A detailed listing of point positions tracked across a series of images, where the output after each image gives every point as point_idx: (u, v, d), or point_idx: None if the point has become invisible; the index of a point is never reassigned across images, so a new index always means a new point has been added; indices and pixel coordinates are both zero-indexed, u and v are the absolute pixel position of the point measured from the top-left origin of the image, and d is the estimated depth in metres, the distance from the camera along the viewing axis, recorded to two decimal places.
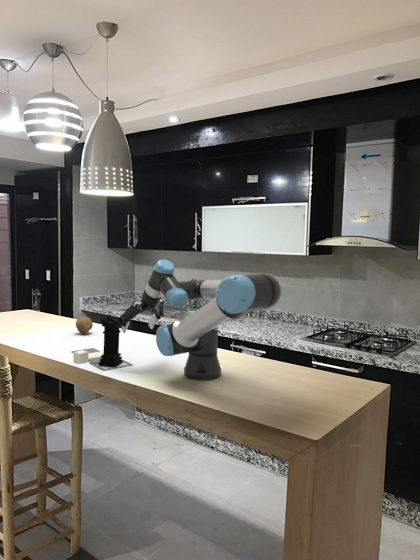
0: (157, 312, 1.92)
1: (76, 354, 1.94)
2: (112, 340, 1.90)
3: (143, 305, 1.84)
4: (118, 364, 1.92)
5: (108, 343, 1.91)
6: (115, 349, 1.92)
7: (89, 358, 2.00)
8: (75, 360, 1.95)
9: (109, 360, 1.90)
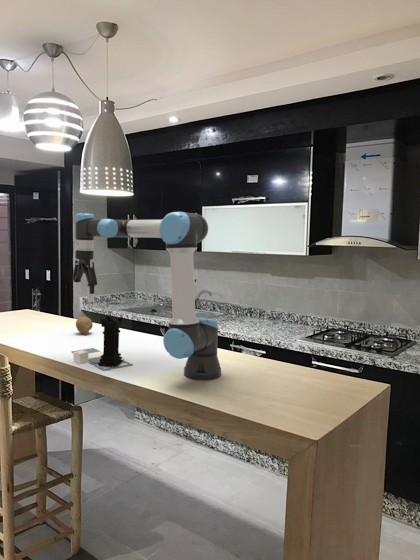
0: None
1: (76, 354, 1.94)
2: (112, 340, 1.90)
3: None
4: (118, 364, 1.92)
5: (108, 343, 1.91)
6: (115, 349, 1.92)
7: (89, 358, 2.00)
8: (75, 360, 1.95)
9: (109, 360, 1.90)
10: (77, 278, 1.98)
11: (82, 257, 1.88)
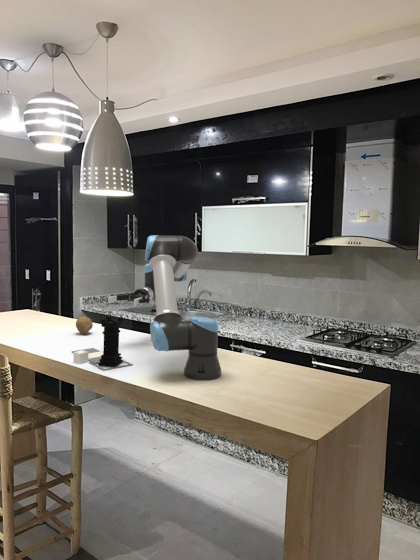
0: (143, 296, 2.16)
1: (76, 354, 1.94)
2: (112, 340, 1.90)
3: None
4: (118, 364, 1.92)
5: (108, 343, 1.91)
6: (115, 349, 1.92)
7: (89, 358, 2.00)
8: (75, 360, 1.95)
9: (109, 360, 1.90)
10: None
11: None
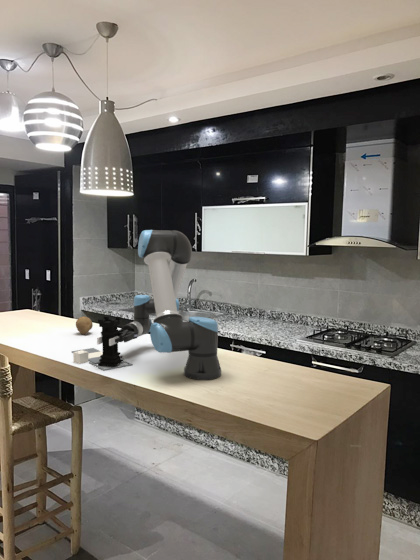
0: (124, 334, 1.97)
1: (76, 354, 1.94)
2: None
3: None
4: (118, 363, 1.92)
5: (107, 343, 1.90)
6: (114, 348, 1.92)
7: (89, 358, 2.00)
8: (75, 360, 1.95)
9: (109, 360, 1.90)
10: None
11: None
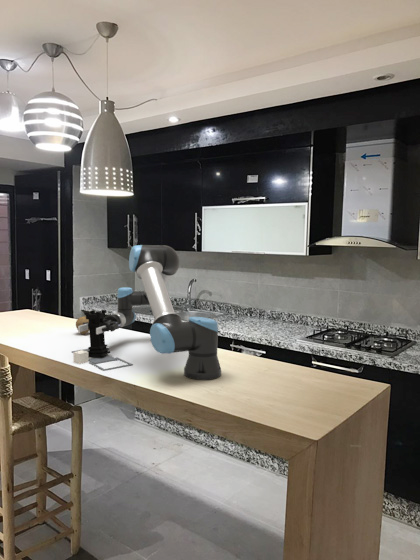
0: (109, 324, 2.09)
1: (76, 354, 1.94)
2: None
3: None
4: (105, 354, 2.03)
5: (94, 335, 2.02)
6: (101, 340, 2.03)
7: (89, 358, 2.00)
8: (75, 360, 1.95)
9: (96, 350, 2.01)
10: None
11: None
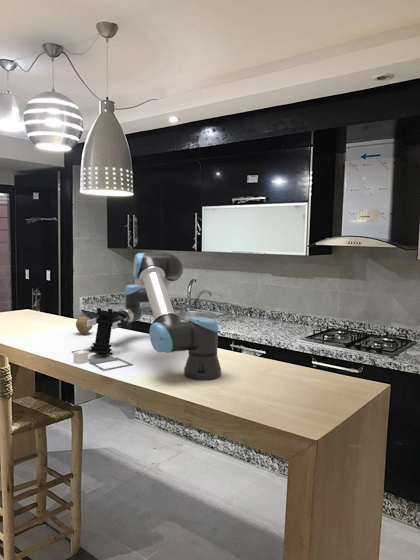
0: (122, 319, 2.18)
1: (76, 354, 1.94)
2: (105, 328, 2.05)
3: None
4: (108, 352, 2.03)
5: (101, 331, 2.05)
6: (106, 338, 2.05)
7: (89, 358, 2.00)
8: (75, 360, 1.95)
9: (100, 346, 2.02)
10: None
11: None
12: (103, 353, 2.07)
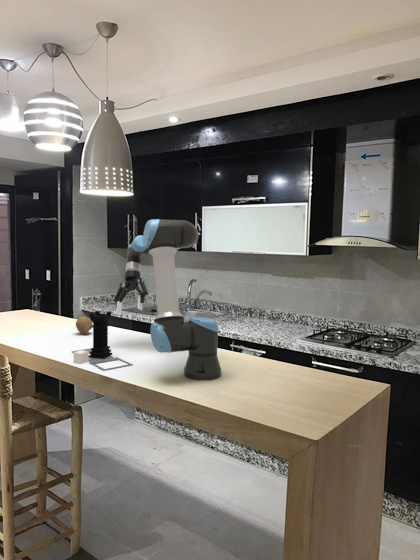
0: (138, 289, 2.16)
1: (76, 354, 1.94)
2: (101, 333, 2.01)
3: (125, 283, 2.23)
4: (107, 356, 2.03)
5: (97, 336, 2.01)
6: (104, 342, 2.02)
7: (89, 358, 2.00)
8: (75, 360, 1.95)
9: (99, 352, 2.01)
10: None
11: None
12: None
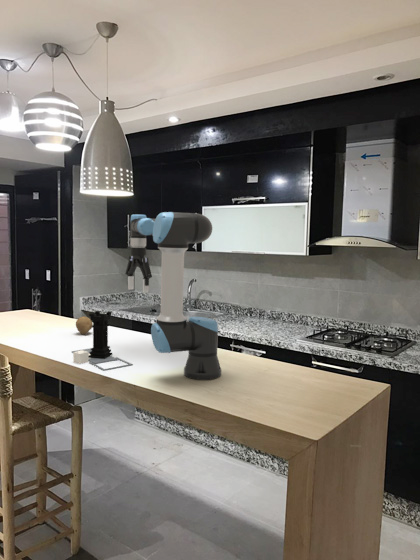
0: (142, 270, 2.11)
1: (76, 354, 1.94)
2: (101, 333, 2.01)
3: (133, 258, 2.18)
4: (107, 356, 2.03)
5: (97, 336, 2.01)
6: (104, 342, 2.02)
7: (89, 358, 2.00)
8: (75, 360, 1.95)
9: (99, 352, 2.01)
10: None
11: None
12: None
